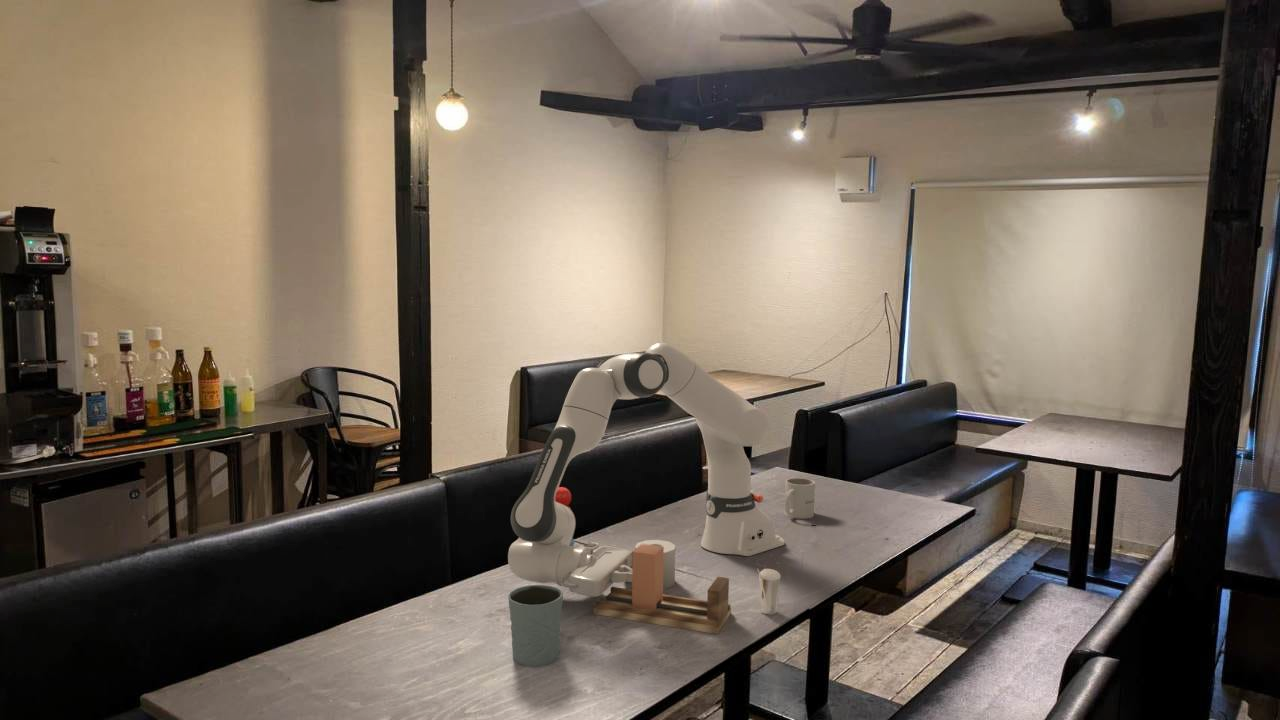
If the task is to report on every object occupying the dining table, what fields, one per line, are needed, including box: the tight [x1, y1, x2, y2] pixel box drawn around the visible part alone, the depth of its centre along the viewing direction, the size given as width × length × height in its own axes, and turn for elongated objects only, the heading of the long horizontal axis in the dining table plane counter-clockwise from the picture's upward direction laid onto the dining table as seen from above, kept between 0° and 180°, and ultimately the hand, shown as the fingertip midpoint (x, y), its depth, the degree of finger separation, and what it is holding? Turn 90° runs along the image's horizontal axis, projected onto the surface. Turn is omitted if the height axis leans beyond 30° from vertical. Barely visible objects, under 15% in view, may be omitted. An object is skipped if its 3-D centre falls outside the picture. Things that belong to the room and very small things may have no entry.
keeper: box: [631, 544, 664, 610], centre depth 178 cm, size 5×6×12 cm
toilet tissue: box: [630, 539, 676, 590], centre depth 194 cm, size 9×13×9 cm
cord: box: [605, 594, 707, 615], centre depth 177 cm, size 24×1×1 cm, turn 70°
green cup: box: [508, 584, 564, 668], centre depth 157 cm, size 10×10×12 cm
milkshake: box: [757, 567, 782, 616], centre depth 178 cm, size 4×5×10 cm
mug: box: [784, 477, 816, 520], centre depth 249 cm, size 12×9×10 cm
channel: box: [593, 576, 732, 635], centre depth 177 cm, size 27×11×8 cm, turn 70°
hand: (636, 576), depth 179 cm, fingers closed, pressing on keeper
